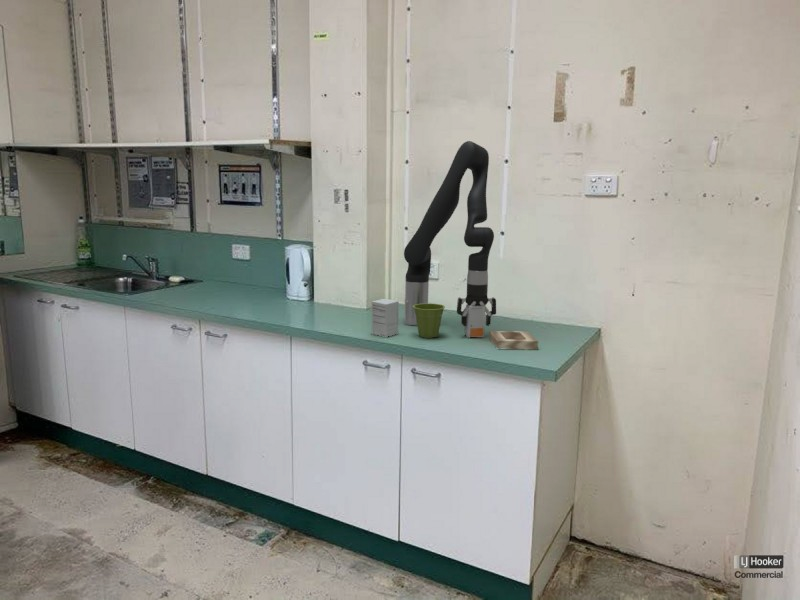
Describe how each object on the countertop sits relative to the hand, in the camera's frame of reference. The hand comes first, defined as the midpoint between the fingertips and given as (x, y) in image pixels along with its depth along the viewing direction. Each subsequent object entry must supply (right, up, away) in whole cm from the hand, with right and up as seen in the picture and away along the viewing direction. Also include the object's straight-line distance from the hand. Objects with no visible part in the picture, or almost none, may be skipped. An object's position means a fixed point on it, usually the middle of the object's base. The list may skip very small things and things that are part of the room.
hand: (475, 325), depth 215 cm
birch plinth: (+12, -6, -9) cm, 16 cm away
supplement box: (-34, -4, +2) cm, 34 cm away
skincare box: (-1, -4, +1) cm, 4 cm away
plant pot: (-18, -4, +1) cm, 18 cm away
